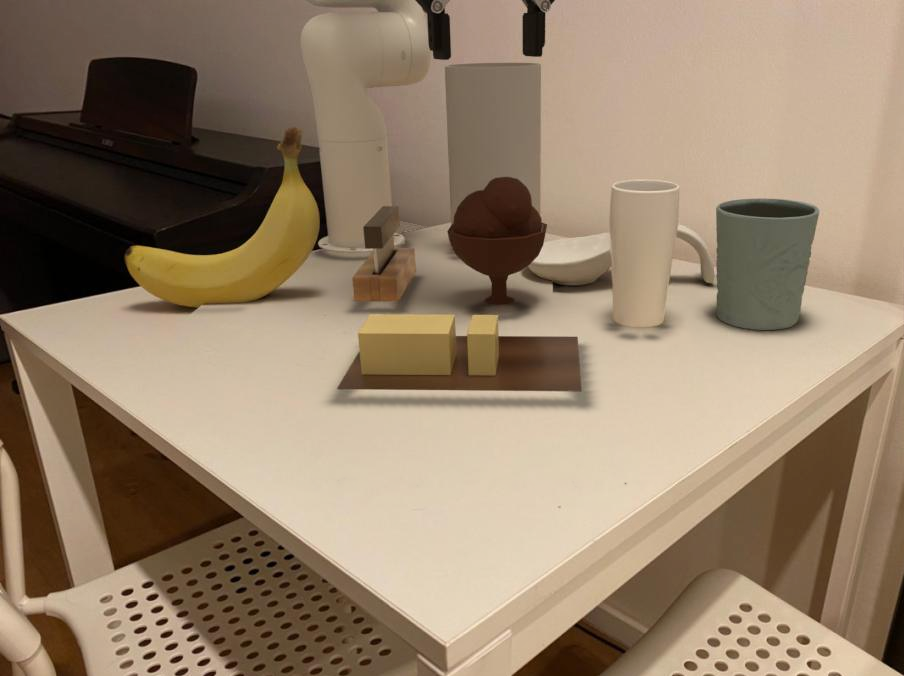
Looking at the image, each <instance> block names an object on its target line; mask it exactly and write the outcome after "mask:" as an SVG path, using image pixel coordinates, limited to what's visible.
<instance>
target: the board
mask: <svg viewBox="0 0 904 676" xmlns="http://www.w3.org/2000/svg"><path fill="white" fill-rule="evenodd" d="M456 351H457V355H456V358H455V361H454V365H453V368H452V371H451V375H362V372H361V361H360V350H359V351H358V353H357V354H356V356H355V358H354V359H353V361H352V362H351V364H350V366H349V367H348V369H347V370H346V373H345V374H344V376H343V378H342V380H341V381H340V383H339V384H338V386H337V388H336V390H378V391H379V390H380V391H381V390H385V391H387V390H388V391H471V392H472V391H474V392H475V391H478V392H479V391H482V392H484V391H488V392H490V391H491V392H574V393H575V392H579V393H580V392H581V393H582V390H583V389H582V378H581V377H582V376H581V365H580V363H581V362H580V352H579V351H580V350H579V337H578V336H554V335H553V336H552V335H551V336H547V335H546V336H545V335H544V336H540V335H538V336H537V335H536V336H534V335H533V336H531V335H530V336H529V335H499V357H498V363H497V369H496V375H495V376H475V375H469V373H468V346H467V335H456Z"/></svg>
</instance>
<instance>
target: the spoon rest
mask: <svg viewBox="0 0 904 676" xmlns="http://www.w3.org/2000/svg"><path fill="white" fill-rule="evenodd" d="M676 238H678V239H680V240H682V241H684V242H686V243H687V244H689V245H690V246H691V247H693V249H694V250H695V251H696V253H697V254H698V257H699V261H700V262H699V263H700V275H701V278H702V280H703V281H704V282H705V283H706V284H707V283H708V284H712V283H714V281H715V266H714V261H713V257H712V256H711V253H710V251H709V249H708V247H707V244H706V243H705V241H704V240H703V238H702V237H701V236H700V235H699V234H698V233H697V232H695V231H694V230H692V229H691V228H689V227H687V226H685V225H682V224H680V223H678V227H677V235H676ZM527 267H528V269H529V270H530V271H531V272H532V273H533V274H535V275H536V276H537V277H540V278H541V279H545V280H549V281H552V283H553V284H556V285H561V286H583V285H589V284H592V283H594V282H596V281H597V280H598V279H599V277H601V276H602V275H604V274H605V273H606V272H607V271H608V270H610V269H611V252H610V231H608V232H603V233H597V234H591V235H585V236H584V235H583V236H577V237H567V238H561V239H560V238H559V239H553V240H548V241H544V244H543V247H542V249H541V251H540V253H539V255H538V257H537V258H536V259H535V260H534V261H533V262H532V263H531V264H530V265H529V266H527Z"/></svg>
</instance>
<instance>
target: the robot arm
mask: <svg viewBox="0 0 904 676" xmlns="http://www.w3.org/2000/svg"><path fill="white" fill-rule="evenodd" d="M306 1H307V2H308V3H309V4H311V5H313V6H317V7H321V8H333V9H334V8H335V9H336V8H337V9H339V8H341V9H344V8H346V9H347V8H348V9H350V8H351V9H352V8H353V9H354V8H355V9H356V8H357V9H358V8H361V9H362V8H364V9H365V8H366V9H367V8H368V9H369V8H373V9H375V10H376V11H331V12H325V13H320V14H318V15H316V16H314V17H312V18H310V19H309V20H308V21H307V22H306V23H305V24H304V26H303V28H302V30H301V34H300V53H301V56H302V61H303V65H304V68H305V72H306V76H307V80H308V84H309V88H310V92H311V98H312V104H313V109H314V117H315V118H314V119H315V125H316V134H317V142H318V143H317V144H318V151H319V161H320V170H321V181H322V191H323V201H324V209H325V210H324V211H325V219H326V229H327V230H326V231H327V236H323V237H322V238H321V239H319V240H318V242H317V246H318V247H319V248H320V249H322V250H325V251H329V252H335V253H348V254H351V253H352V254H353V253H355V254H356V253H358V254H359V253H369V252H371V253H372V252H373V249H365V242H364V230H363V227H364V225H365V224H366V223H367V222H368V221H369V220H370V219H371V218H372V217H373V216H374V215H375V214H376V213H377V212H378V211H379V210H380V209H381V208H382V207H383V206H393V202H392V189H391V188H392V187H391V173H390V160H389V147H388V145H389V144H388V133H387V124H386V120H385V117H384V115H383V113H382V111H381V109H380V108H379V107H378V105H377V104H376V103H375V101H374V100H373V98H371V96H370V95H369V93H368V91H367V89H374V88H385V87H401V86H411V85H415V84H418V83H420V82H422V81H423V80H424V79H425V78H426V77H427V75H428V73H429V71H430V67H431V62H432V61H431V60H432V58H433V59H434V60H440V61H449V60H450V59H451V58H452V47H451V46H452V43H451V41H452V40H451V16H450V14H449V13H448V12H447V13H446V7H447V5H448V4H449V3H450V1H451V0H306ZM521 1H522V3H523V5H524V6H525V8H526V12H523V14H522V17H521V18H522V55H523V56H525V57H532V58H540V57H542V56H543V48H544V47H545V45H546V13H548V12H549V11H550V10H551V7H552V4H553V3H555V1H556V0H521ZM425 14H426V16H425ZM426 19H427V20H426ZM432 56H433V57H432ZM393 238H394V248H397V247H399V246H400V245H405V244H406V238H405V236H404V235H403V234H401V233H398V232H397V231H396V232H395V233H394V234H393Z"/></svg>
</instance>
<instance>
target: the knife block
mask: <svg viewBox="0 0 904 676" xmlns="http://www.w3.org/2000/svg"><path fill="white" fill-rule="evenodd" d="M394 252H395V255H394V256H393V258H392V259H391V261H390V262H389V263H388V265H387V266H386V268H385V269H384V271H383V272H382V273H381V275H375V265H374V253H373V251H371V253H370V254H369V256H368V257H367V259H366V260H365V261H364V262H363V263H362V264H361V266H360V267H359V269H358V270H357V271H356V272H355V273H354V275H353V276H352V277H351V278H352V290H353V299H354V300H353V301H354V302H399V300H400V299H401V298H402V297H403V295H404V293H406V290H407V288H408V286H409V285H410V283H411V281H412V279H413V277H414V276H415V274H416V272H417V268H416V267H417V266H416V249H415V247H394Z"/></svg>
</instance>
